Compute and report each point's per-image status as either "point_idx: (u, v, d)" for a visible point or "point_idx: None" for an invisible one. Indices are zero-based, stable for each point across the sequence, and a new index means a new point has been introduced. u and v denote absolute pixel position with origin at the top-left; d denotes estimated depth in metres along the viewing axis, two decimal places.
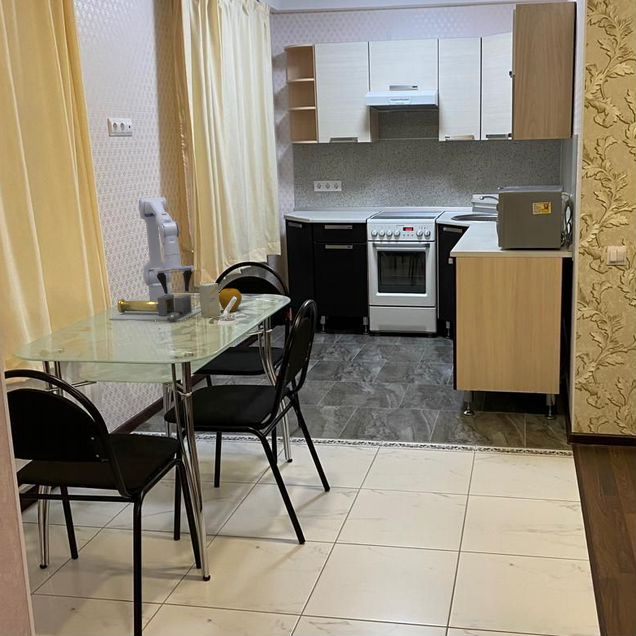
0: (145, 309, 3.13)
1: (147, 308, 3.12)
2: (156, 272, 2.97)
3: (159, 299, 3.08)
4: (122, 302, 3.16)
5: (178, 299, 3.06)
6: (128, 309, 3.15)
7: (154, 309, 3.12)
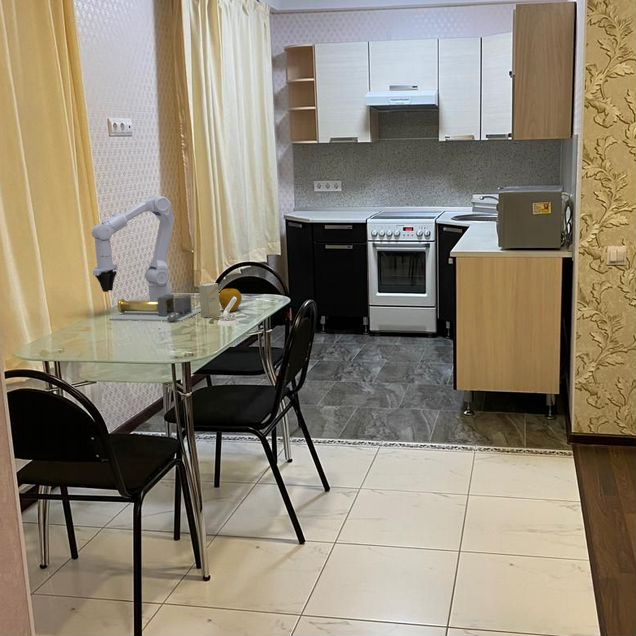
0: (145, 309, 3.13)
1: (147, 308, 3.12)
2: None
3: (159, 299, 3.08)
4: (122, 302, 3.16)
5: (178, 299, 3.06)
6: (128, 309, 3.15)
7: (154, 309, 3.12)
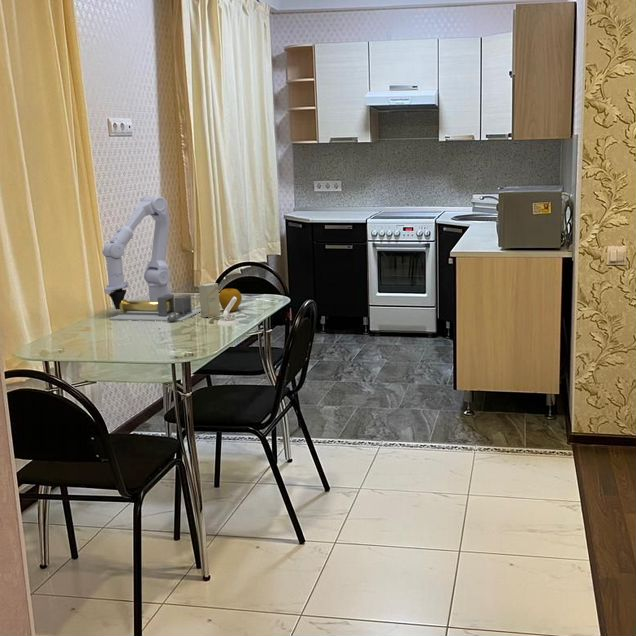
0: (147, 309, 3.13)
1: (149, 308, 3.12)
2: None
3: (159, 299, 3.08)
4: (124, 302, 3.16)
5: (178, 299, 3.06)
6: (130, 309, 3.15)
7: (156, 309, 3.12)
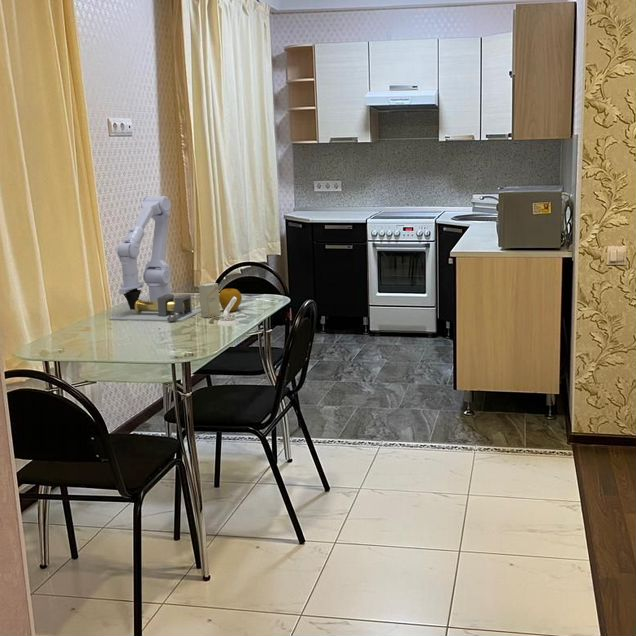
0: None
1: None
2: None
3: (159, 299, 3.08)
4: (139, 302, 3.14)
5: (178, 299, 3.06)
6: (145, 309, 3.13)
7: (171, 309, 3.10)
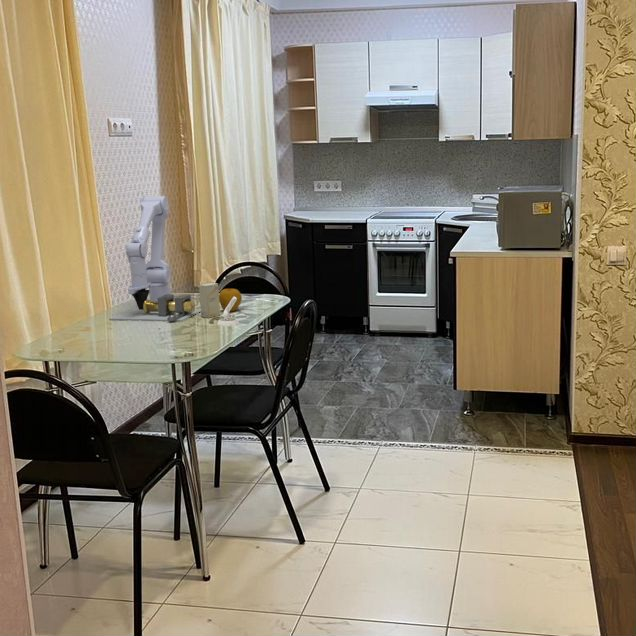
0: (171, 309, 3.10)
1: (173, 308, 3.09)
2: None
3: (159, 299, 3.08)
4: (148, 302, 3.13)
5: (178, 299, 3.06)
6: (154, 309, 3.12)
7: None
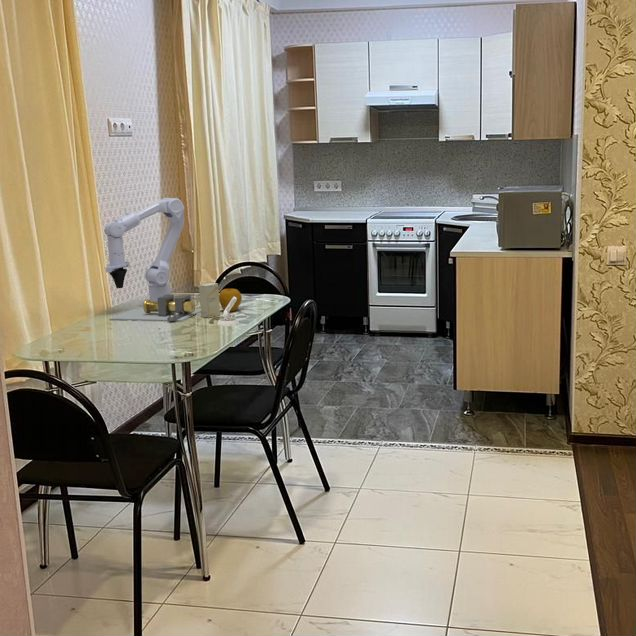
0: (171, 309, 3.10)
1: (173, 308, 3.09)
2: None
3: (159, 299, 3.08)
4: (148, 302, 3.13)
5: (178, 299, 3.06)
6: (154, 309, 3.12)
7: None
